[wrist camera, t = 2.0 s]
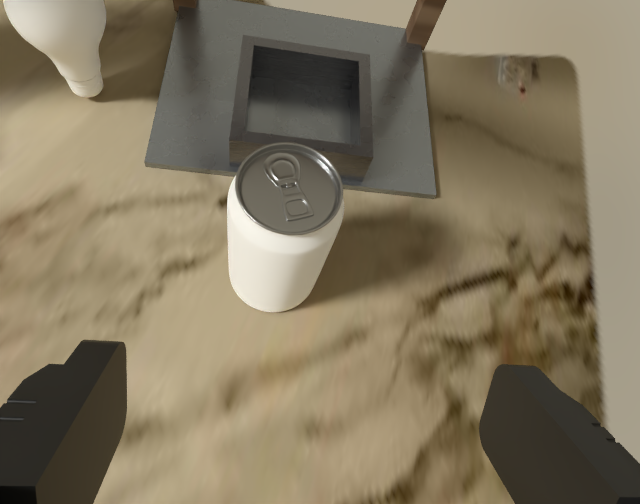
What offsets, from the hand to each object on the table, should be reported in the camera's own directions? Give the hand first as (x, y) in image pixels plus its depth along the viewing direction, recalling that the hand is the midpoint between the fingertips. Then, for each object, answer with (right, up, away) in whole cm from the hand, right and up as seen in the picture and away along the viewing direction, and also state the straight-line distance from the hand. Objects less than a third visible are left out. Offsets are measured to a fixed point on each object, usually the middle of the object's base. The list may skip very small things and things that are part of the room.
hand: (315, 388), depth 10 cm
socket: (-2, +18, +32) cm, 37 cm away
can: (-4, +1, +25) cm, 25 cm away
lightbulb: (-19, +16, +29) cm, 38 cm away
